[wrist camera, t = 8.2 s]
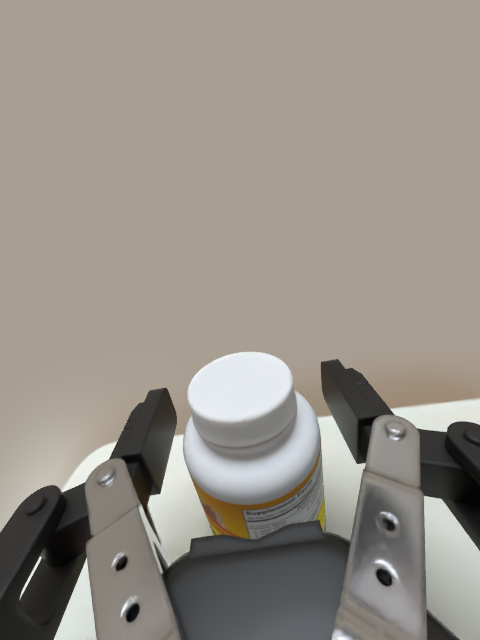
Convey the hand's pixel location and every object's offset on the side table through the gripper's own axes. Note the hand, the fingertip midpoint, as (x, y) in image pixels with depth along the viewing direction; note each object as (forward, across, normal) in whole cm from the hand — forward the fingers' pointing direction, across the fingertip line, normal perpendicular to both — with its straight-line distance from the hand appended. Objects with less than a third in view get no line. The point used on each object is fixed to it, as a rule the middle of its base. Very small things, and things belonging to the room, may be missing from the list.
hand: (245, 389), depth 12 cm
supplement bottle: (-2, 0, +8) cm, 8 cm away
